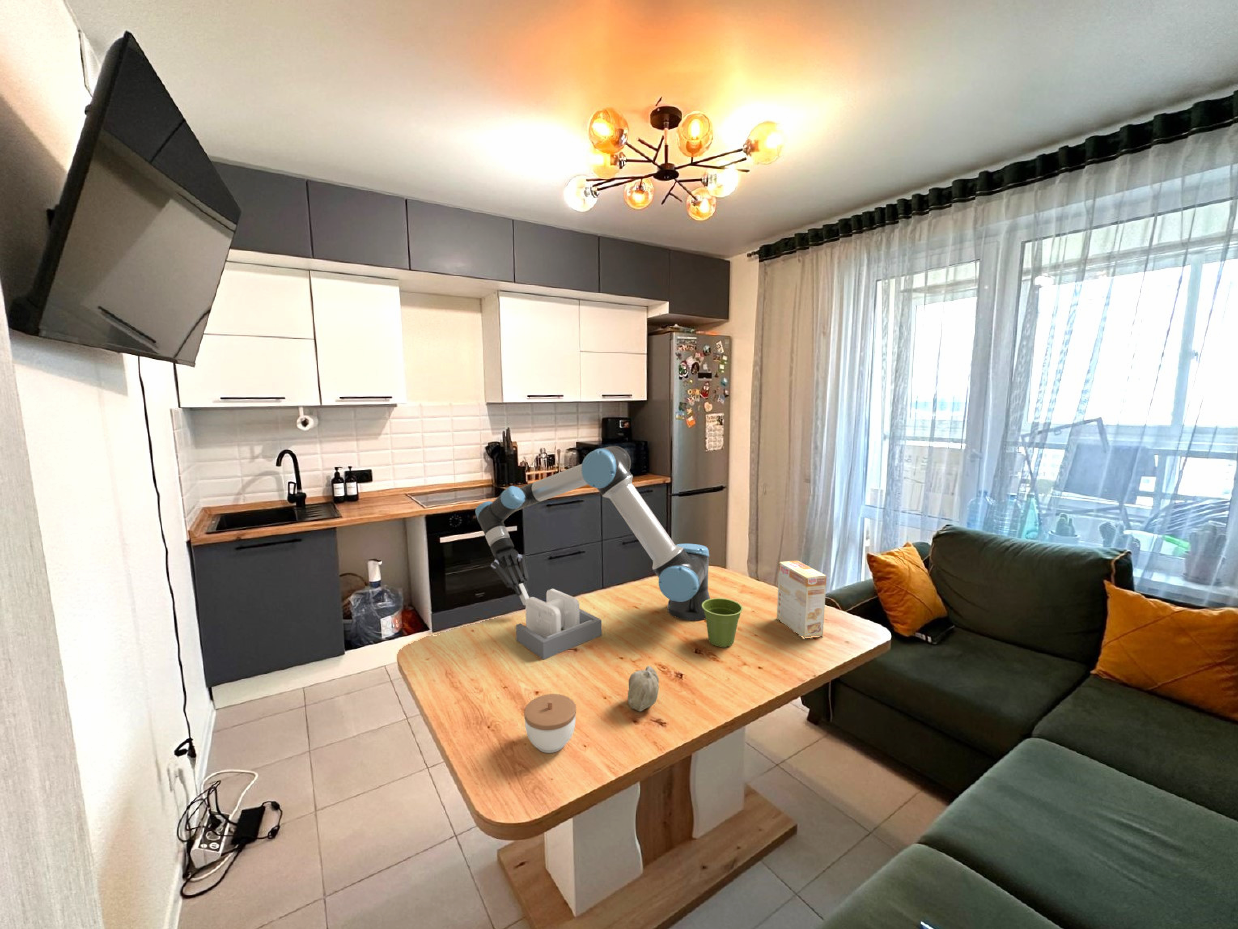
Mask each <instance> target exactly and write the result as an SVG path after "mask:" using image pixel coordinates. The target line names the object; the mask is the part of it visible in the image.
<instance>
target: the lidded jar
mask: <svg viewBox="0 0 1238 929" xmlns="http://www.w3.org/2000/svg"><path fill="white" fill-rule="evenodd" d="M523 713H524V714H523V715H524V726H525V731H526V735H527V738H528V740H529V741H530V743H531V744H532V746H534V747H535V748H536V749H537V750H539V751H540V752H542V753H546V754H552V753H556V752H559V751H561V750H562V749H563V748H564V747H565V746H566V745H567V744H568V742H569V741H570V740H571V739H572V736H573V734H574V731H575V727H576V719H577V718H576V716H577V706H576V703H575V702H574V700H573V699H572V698H570V697H569V696H566V695H564V694H560V693H559V694H558V693H548V694H543V695H539V696H537V697H535V698H533V699H531V700H530V701H529V702H528V703H527V705H526V706H525V708H524V712H523Z"/></svg>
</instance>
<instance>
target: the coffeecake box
mask: <svg viewBox="0 0 1238 929" xmlns="http://www.w3.org/2000/svg"><path fill="white" fill-rule="evenodd" d="M778 564H779V565H778V567H779V568H778V583H777V584H778V586H777V587H778V588H777V605H776V606H777V608H776V620H778V619H779V620H780V622H781V624H783V623H784V624H786V625H787V626H788V627H789V628H788V627H787V626H786V625H785V626H786V627H787V628H788V629H790V628H791V629H792V630H793V631H792V630H791V629H790V630H791V631H792V632H794V633H795V632H797V633H798V634H799V635H800V636H803V637H804V638H805V637H811V636H823V637H824V625H825V624H824V622H825V608H826V605H825V604H826V589H827V574H824V573H823V572H821V571H818V570H816V569H815V568H812V567H810V566H809V565H806V564H805V563H803V562H801V561H799V560H788V561H787V560H786V561H780V562H779V563H778ZM779 620H778V621H779ZM784 624H783V625H784ZM799 635H798V636H799ZM800 636H799V637H800Z"/></svg>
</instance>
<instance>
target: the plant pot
mask: <svg viewBox="0 0 1238 929" xmlns="http://www.w3.org/2000/svg"><path fill="white" fill-rule="evenodd" d="M702 608H703V609H704V614H705V616H706V619H705V622H706V628H707V629H706V630H707V636H708V642H709V644H711V645H712V646H714V645H715V646H714V647H720V648H728V647H727V646H729V647H731V646H733V645H732V644H734V643H735V642H734V641H735V637H736V632H737V627H738V622H739V619H740V616H741V613H742V612H743V610H744V607H743V605H742V604H740V603H739V602H737V601H735V600H733V599H728V598H724V597H723V598H721V597H713V598H710V599H708V600H706V601H704V602H703V603H702Z"/></svg>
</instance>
